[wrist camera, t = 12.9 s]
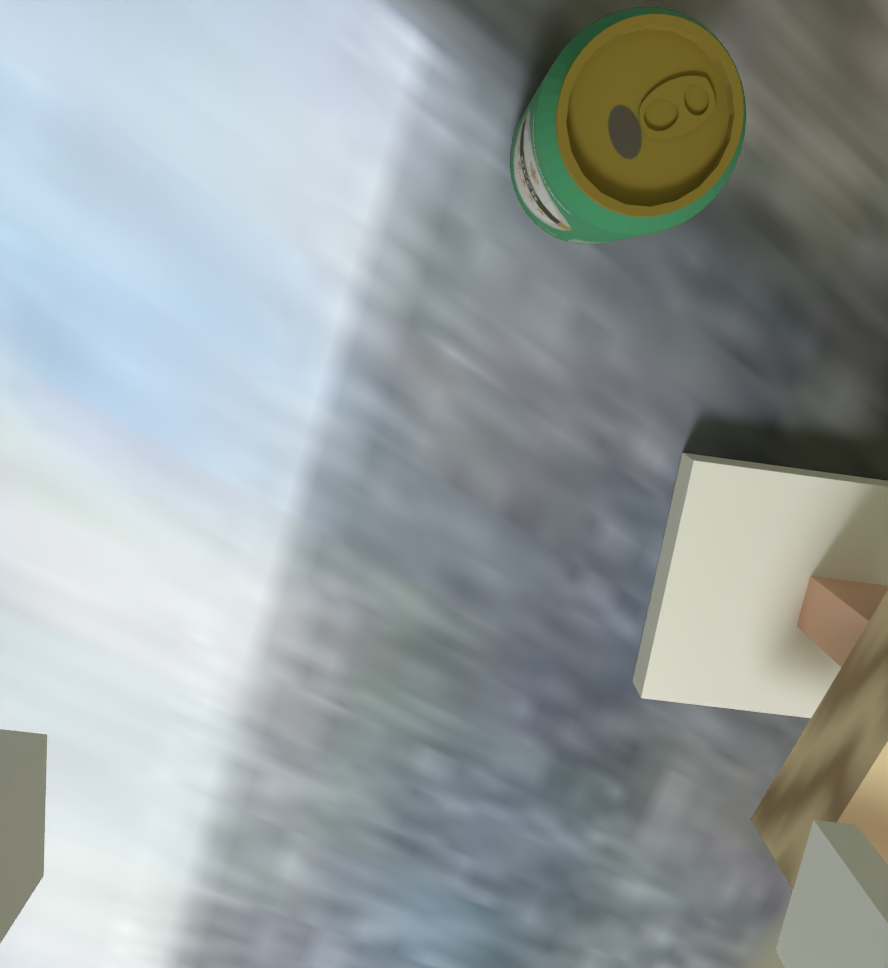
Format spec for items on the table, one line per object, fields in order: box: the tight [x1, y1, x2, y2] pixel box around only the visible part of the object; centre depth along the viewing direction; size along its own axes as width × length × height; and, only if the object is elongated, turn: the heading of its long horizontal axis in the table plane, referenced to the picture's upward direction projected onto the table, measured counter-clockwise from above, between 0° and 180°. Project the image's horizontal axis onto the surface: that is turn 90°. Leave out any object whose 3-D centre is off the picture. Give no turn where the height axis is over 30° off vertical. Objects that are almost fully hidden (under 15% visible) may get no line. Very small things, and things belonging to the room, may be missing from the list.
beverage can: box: [510, 7, 746, 244], centre depth 35 cm, size 8×8×12 cm
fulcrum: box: [633, 453, 888, 718], centre depth 43 cm, size 14×20×8 cm
